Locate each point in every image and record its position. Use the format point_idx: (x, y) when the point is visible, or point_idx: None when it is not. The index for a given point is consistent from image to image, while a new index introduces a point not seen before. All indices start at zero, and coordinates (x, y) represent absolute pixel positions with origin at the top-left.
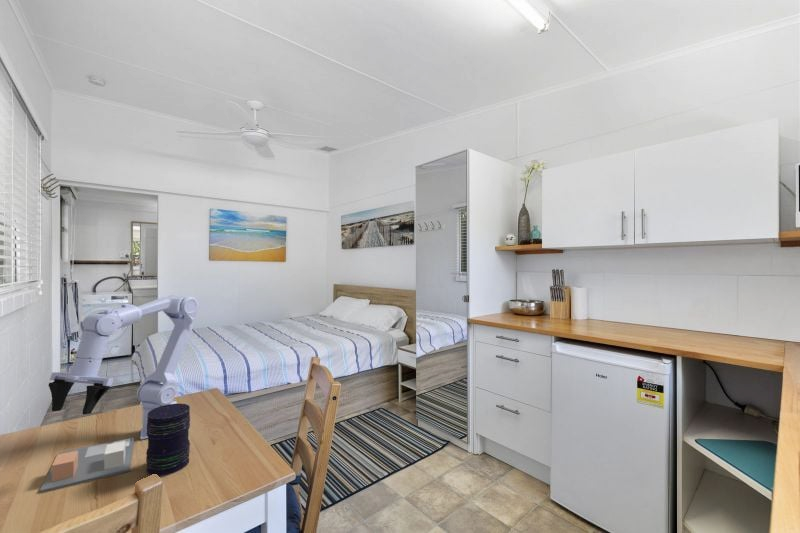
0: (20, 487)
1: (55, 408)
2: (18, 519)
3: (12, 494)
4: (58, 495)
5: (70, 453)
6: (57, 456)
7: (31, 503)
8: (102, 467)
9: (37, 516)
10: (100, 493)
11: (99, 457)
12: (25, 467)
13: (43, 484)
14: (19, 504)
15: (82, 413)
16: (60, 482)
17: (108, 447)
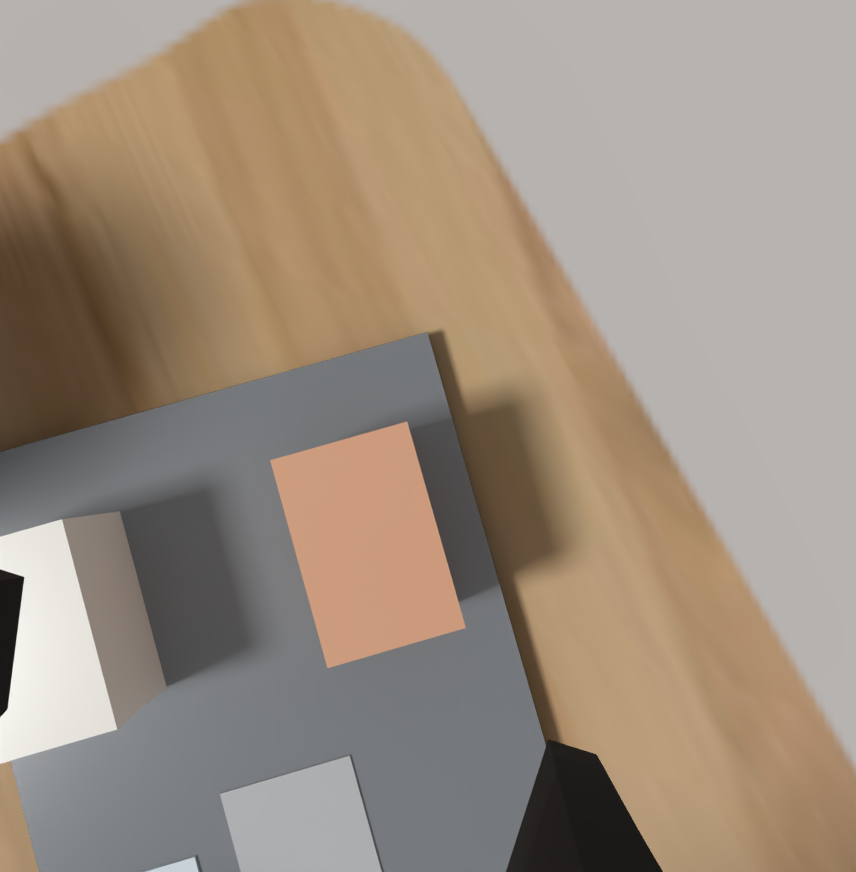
0: (592, 448)
1: (548, 785)
2: (392, 74)
3: (590, 369)
4: (295, 276)
5: (364, 618)
6: (447, 587)
7: (412, 227)
8: (146, 551)
9: (302, 74)
10: (40, 225)
11: (235, 728)
12: (725, 741)
13: (445, 407)
14: (478, 235)
15: (16, 582)
16: (346, 407)
17: (80, 657)
